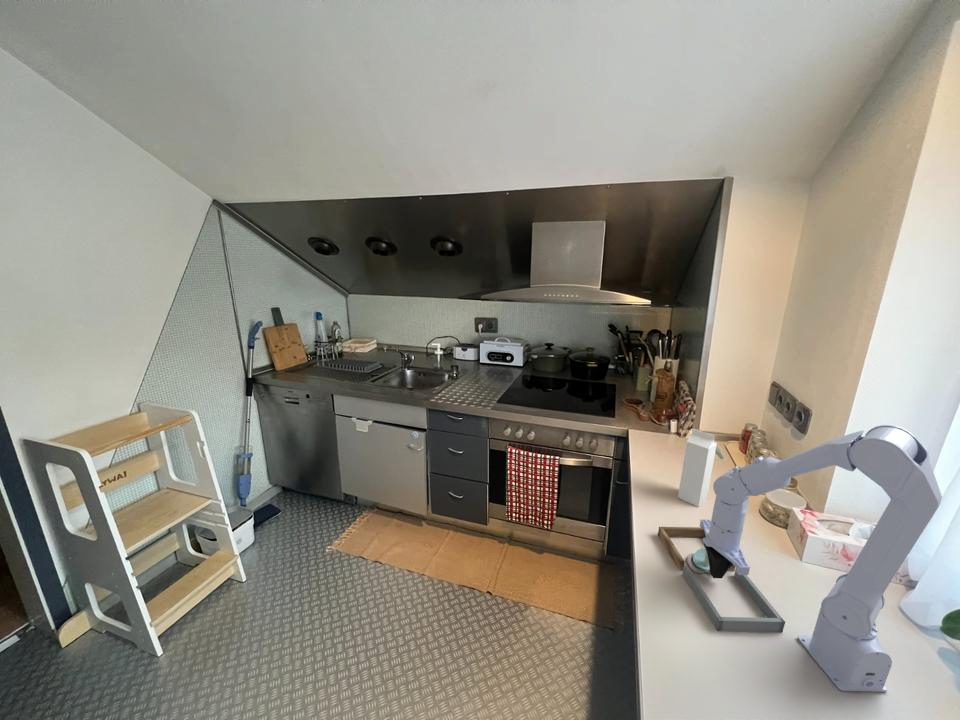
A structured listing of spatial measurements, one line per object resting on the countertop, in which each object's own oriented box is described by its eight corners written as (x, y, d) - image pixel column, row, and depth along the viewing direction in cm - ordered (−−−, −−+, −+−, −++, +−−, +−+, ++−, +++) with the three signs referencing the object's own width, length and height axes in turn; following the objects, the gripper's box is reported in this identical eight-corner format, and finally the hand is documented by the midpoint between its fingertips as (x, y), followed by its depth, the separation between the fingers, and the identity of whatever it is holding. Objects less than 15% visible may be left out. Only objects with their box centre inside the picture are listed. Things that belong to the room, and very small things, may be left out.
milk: (698, 507, 112) (710, 439, 106) (677, 497, 117) (688, 431, 111) (706, 499, 116) (719, 432, 110) (686, 490, 120) (697, 425, 114)
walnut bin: (734, 571, 89) (736, 562, 89) (679, 570, 89) (681, 561, 89) (706, 535, 101) (707, 527, 100) (657, 534, 101) (659, 526, 100)
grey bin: (782, 632, 75) (785, 621, 74) (717, 630, 75) (719, 620, 74) (737, 575, 88) (739, 566, 87) (682, 574, 88) (683, 565, 88)
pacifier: (686, 572, 89) (716, 581, 86) (689, 549, 88) (720, 558, 85) (687, 551, 95) (715, 560, 92) (690, 530, 94) (718, 537, 91)
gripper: (690, 502, 89) (682, 551, 93) (728, 548, 75) (717, 604, 79) (721, 503, 89) (711, 552, 93) (765, 548, 75) (751, 604, 79)
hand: (716, 576), depth 86 cm, fingers closed
